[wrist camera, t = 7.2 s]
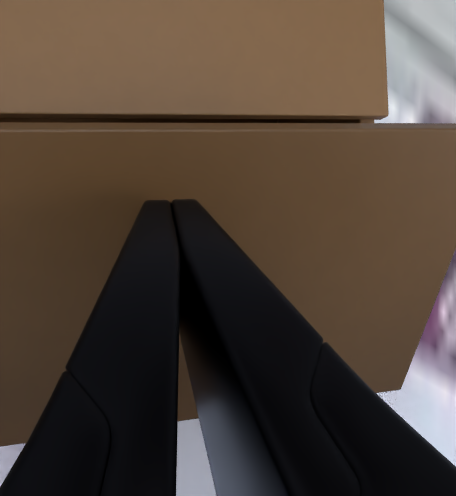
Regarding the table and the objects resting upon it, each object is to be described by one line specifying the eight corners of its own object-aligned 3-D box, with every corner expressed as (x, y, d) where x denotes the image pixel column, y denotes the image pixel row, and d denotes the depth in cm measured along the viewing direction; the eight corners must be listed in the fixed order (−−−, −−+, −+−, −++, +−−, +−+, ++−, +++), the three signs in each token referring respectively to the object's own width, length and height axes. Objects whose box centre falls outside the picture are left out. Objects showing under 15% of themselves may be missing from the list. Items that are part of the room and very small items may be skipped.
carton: (294, 329, 20) (402, 388, 12) (-10, 361, 18) (-132, 464, 9) (278, 2, 20) (379, -161, 12) (-37, -18, 17) (-188, -250, 9)
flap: (393, 378, 13) (401, 389, 12) (-121, 449, 10) (-130, 466, 9) (488, 122, 9) (503, 128, 8) (-310, 120, 6) (-336, 128, 6)
